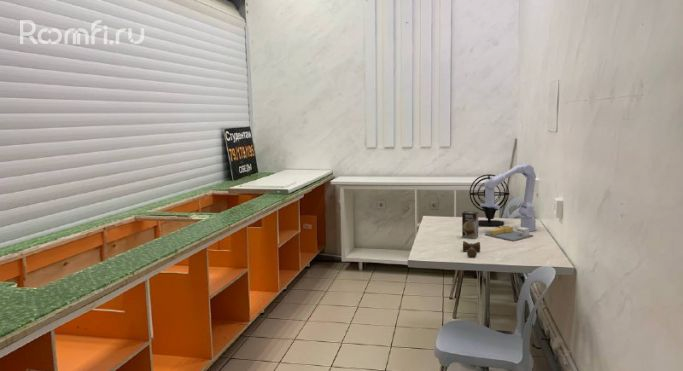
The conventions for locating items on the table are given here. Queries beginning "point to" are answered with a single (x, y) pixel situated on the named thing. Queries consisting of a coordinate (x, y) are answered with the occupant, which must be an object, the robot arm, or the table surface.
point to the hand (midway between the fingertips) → (489, 218)
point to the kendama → (471, 248)
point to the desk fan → (489, 221)
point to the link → (501, 230)
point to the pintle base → (512, 234)
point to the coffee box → (470, 224)
